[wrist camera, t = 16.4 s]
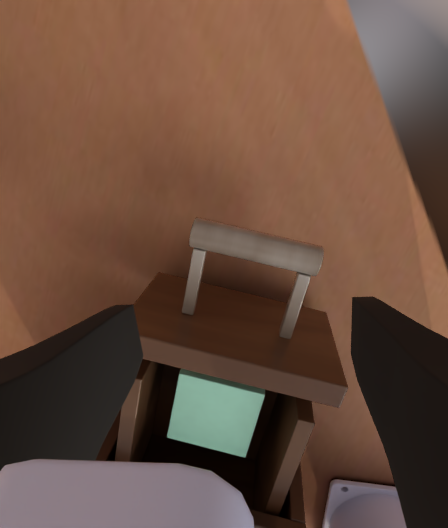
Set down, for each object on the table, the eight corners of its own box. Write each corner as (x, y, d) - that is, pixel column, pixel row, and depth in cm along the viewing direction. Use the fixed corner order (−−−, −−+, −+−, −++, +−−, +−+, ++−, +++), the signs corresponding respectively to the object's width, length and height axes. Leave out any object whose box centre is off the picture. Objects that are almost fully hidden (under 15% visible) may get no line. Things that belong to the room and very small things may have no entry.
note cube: (195, 329, 22) (178, 373, 18) (266, 347, 22) (265, 395, 18) (183, 386, 24) (166, 437, 20) (249, 403, 24) (245, 458, 20)
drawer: (170, 192, 20) (125, 222, 14) (354, 235, 20) (391, 285, 14) (135, 424, 27) (94, 516, 21) (273, 459, 26) (274, 564, 20)
